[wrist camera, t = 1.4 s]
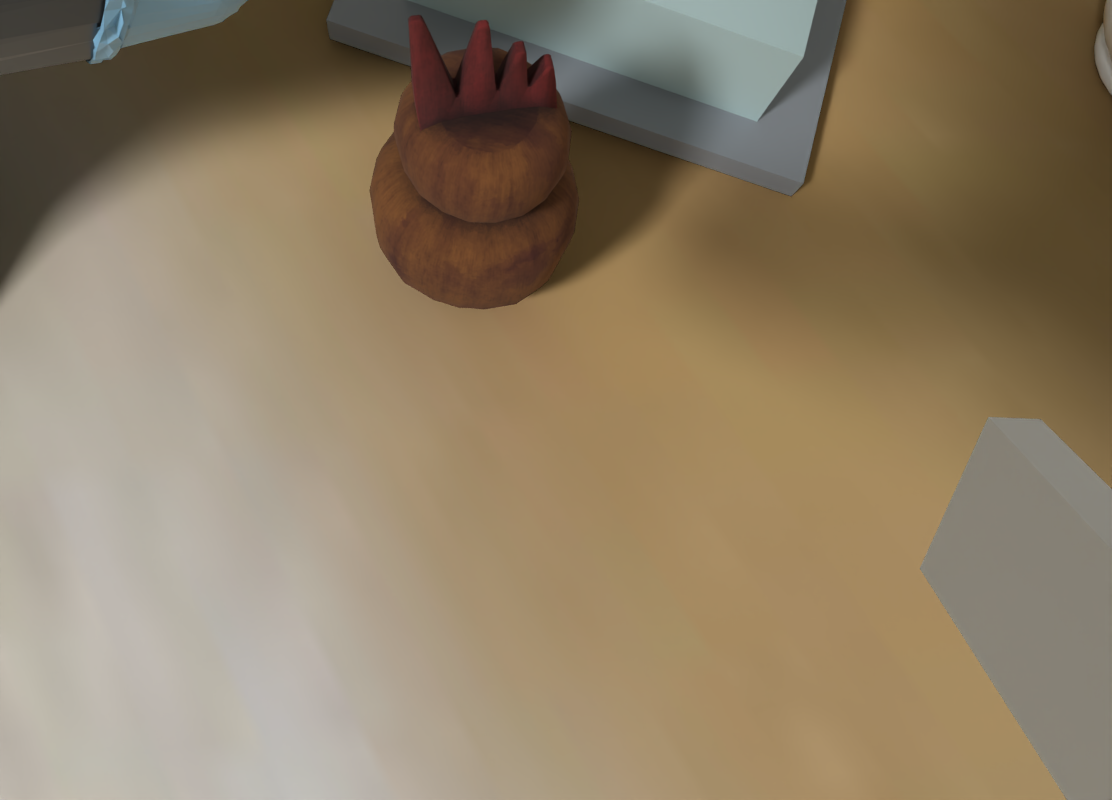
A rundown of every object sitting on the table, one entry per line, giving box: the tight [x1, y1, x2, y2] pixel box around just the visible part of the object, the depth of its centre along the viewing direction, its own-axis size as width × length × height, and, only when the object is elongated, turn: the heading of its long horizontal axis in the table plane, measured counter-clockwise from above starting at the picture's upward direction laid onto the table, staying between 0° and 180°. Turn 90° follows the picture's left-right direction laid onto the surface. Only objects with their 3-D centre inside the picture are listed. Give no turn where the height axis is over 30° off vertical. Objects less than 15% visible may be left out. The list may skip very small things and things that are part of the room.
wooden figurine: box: [370, 15, 579, 309], centre depth 26 cm, size 7×6×15 cm
